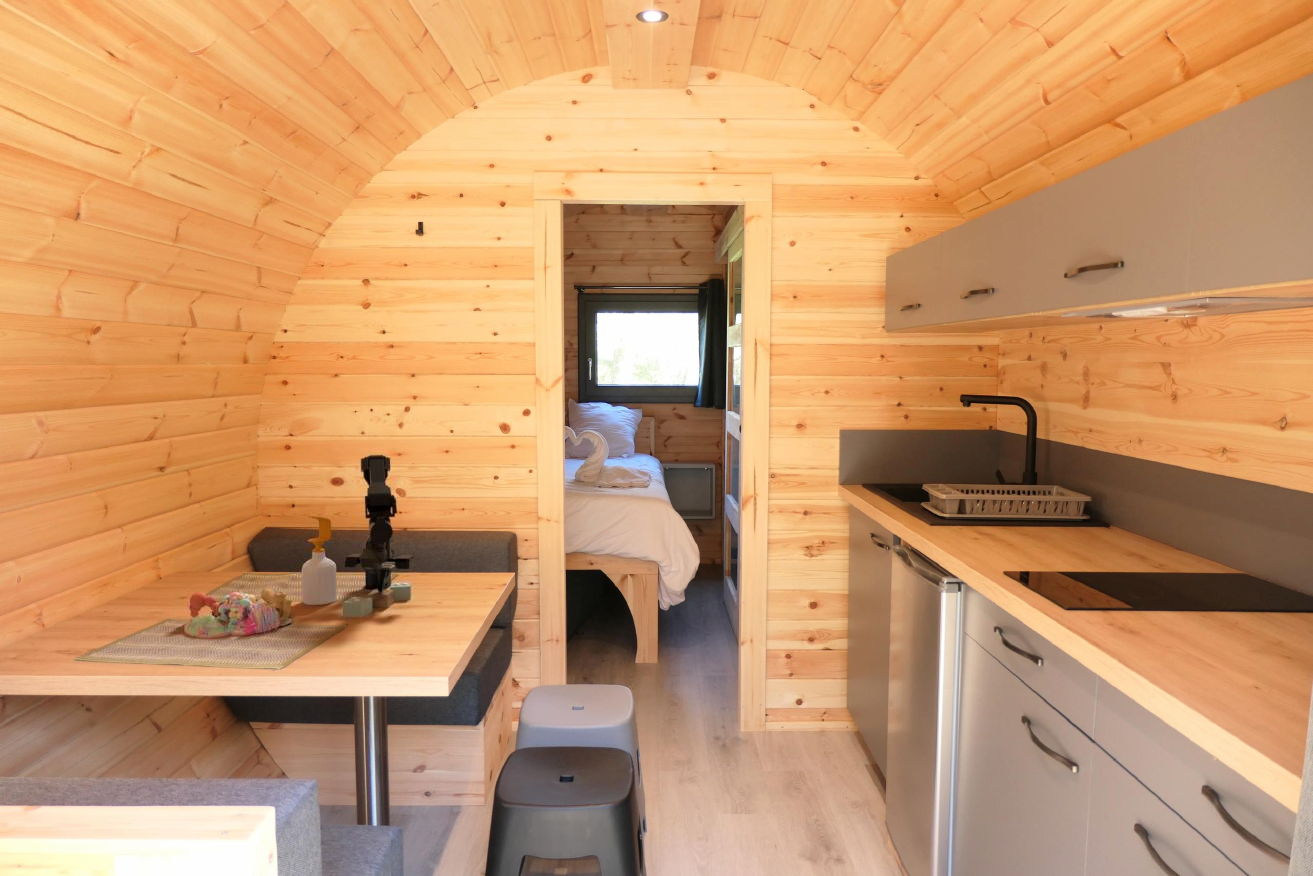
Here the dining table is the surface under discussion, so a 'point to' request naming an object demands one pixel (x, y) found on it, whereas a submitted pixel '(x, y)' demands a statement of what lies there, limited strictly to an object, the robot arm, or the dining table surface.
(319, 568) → the soap bottle
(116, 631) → the dining table surface
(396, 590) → the dotted block two
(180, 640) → the dining table surface
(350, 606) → the grey-green block
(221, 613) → the colorful coral reef ornament
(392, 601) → the walnut block
